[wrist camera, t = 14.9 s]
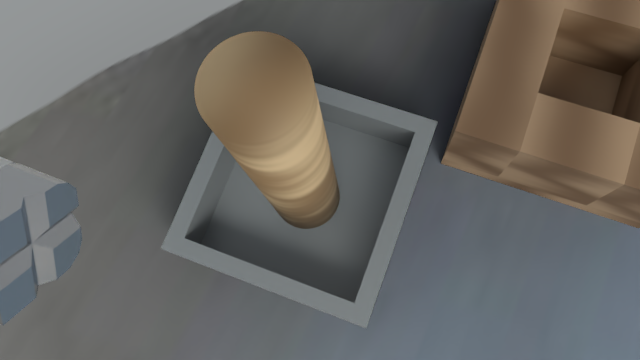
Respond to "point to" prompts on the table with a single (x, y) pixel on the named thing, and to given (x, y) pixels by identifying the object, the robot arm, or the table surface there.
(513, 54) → the walnut holder
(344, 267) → the grey tray
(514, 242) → the table surface
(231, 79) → the oak dowel
